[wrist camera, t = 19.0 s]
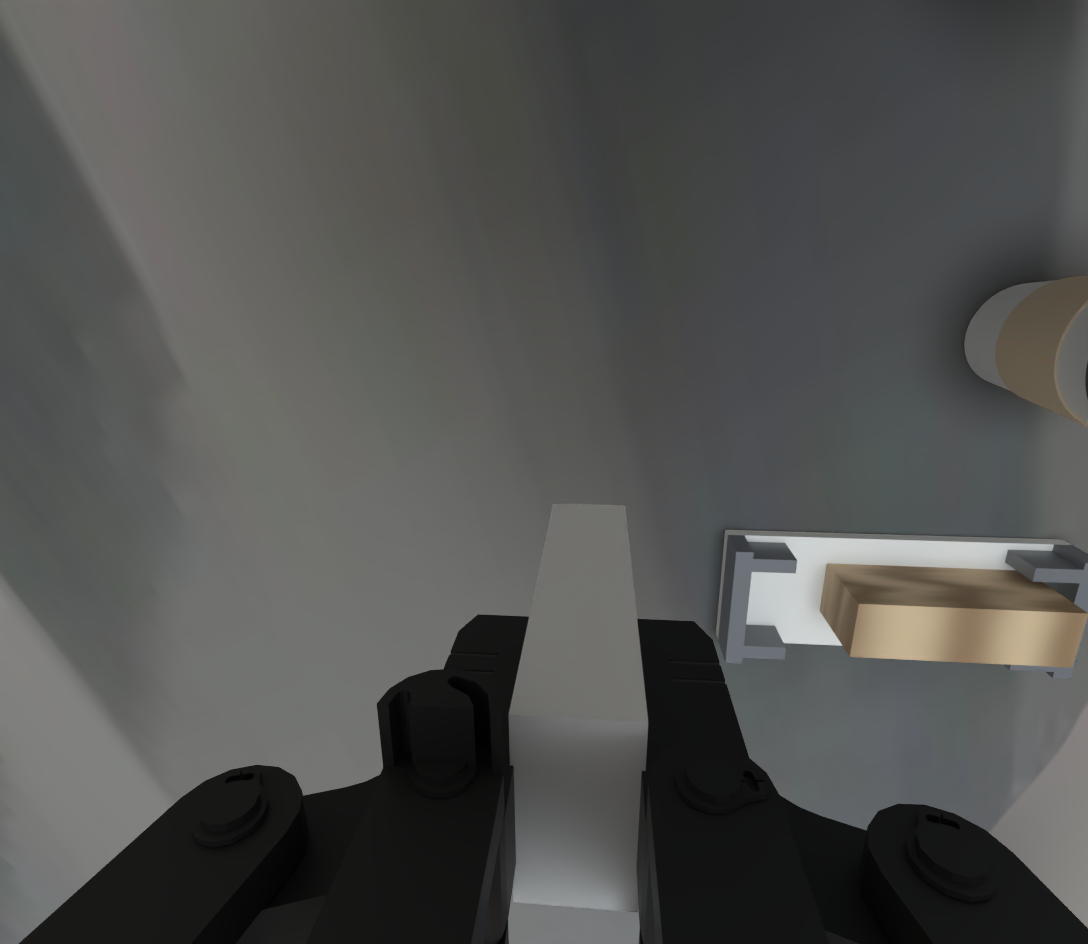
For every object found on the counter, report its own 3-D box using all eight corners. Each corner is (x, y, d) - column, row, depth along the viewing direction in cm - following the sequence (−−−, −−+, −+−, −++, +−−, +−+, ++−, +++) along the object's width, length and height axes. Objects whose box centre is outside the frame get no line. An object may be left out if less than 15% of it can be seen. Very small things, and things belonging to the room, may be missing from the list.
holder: (725, 529, 47) (736, 551, 43) (1061, 539, 45) (1104, 563, 41) (715, 633, 49) (725, 662, 46) (1033, 646, 47) (1070, 678, 44)
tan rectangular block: (819, 610, 47) (849, 656, 41) (826, 563, 46) (858, 603, 40) (1013, 619, 46) (1072, 667, 40) (1026, 570, 45) (1088, 613, 39)
